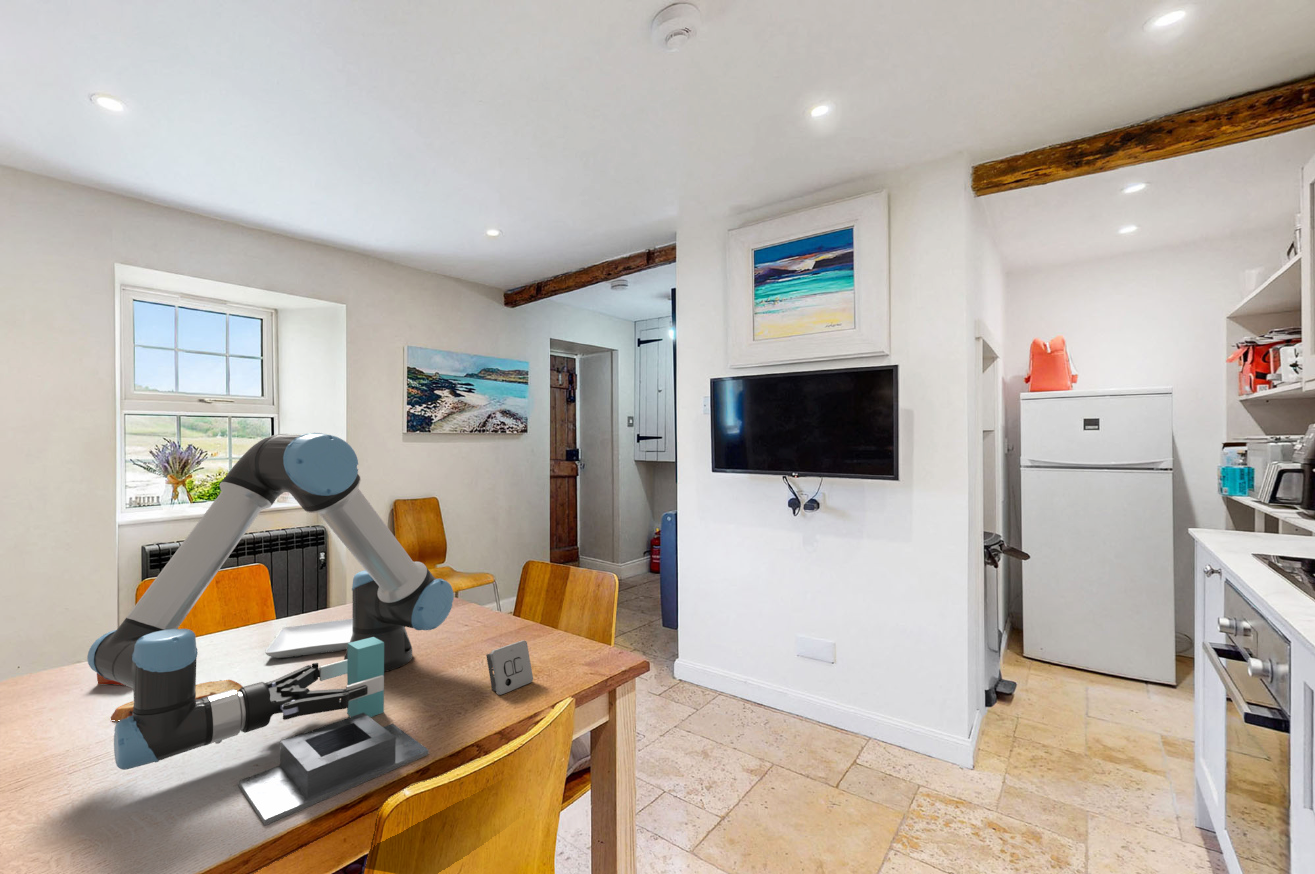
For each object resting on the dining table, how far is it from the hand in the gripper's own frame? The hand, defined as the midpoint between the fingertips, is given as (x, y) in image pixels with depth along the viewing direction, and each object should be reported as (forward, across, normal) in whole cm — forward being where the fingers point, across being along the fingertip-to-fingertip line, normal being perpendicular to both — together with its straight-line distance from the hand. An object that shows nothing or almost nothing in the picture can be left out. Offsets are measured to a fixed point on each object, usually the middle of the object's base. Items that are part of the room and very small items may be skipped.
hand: (368, 672), depth 113 cm
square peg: (0, 0, -8) cm, 8 cm away
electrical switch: (+26, +11, -8) cm, 29 cm away
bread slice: (-24, -32, -8) cm, 40 cm away
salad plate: (+7, -50, -8) cm, 51 cm away
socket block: (-12, +17, -8) cm, 22 cm away
